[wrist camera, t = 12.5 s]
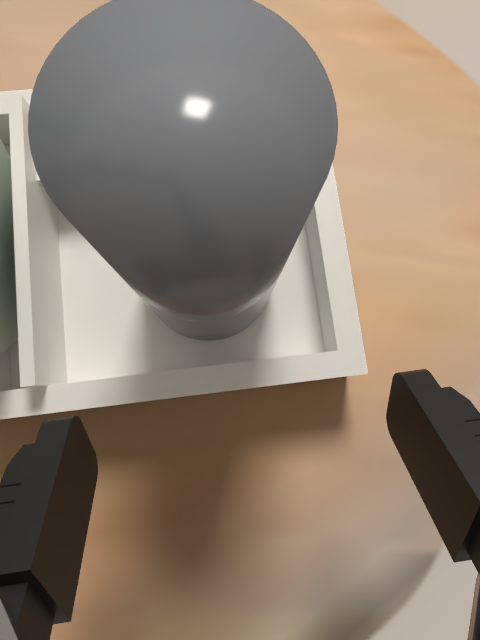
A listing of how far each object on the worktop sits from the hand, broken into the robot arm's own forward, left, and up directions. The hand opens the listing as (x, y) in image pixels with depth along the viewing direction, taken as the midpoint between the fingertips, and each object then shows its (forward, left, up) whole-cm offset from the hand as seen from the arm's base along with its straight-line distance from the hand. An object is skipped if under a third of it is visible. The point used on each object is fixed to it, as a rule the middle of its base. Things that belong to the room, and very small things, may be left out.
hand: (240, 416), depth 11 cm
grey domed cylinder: (0, +5, -7) cm, 9 cm away
